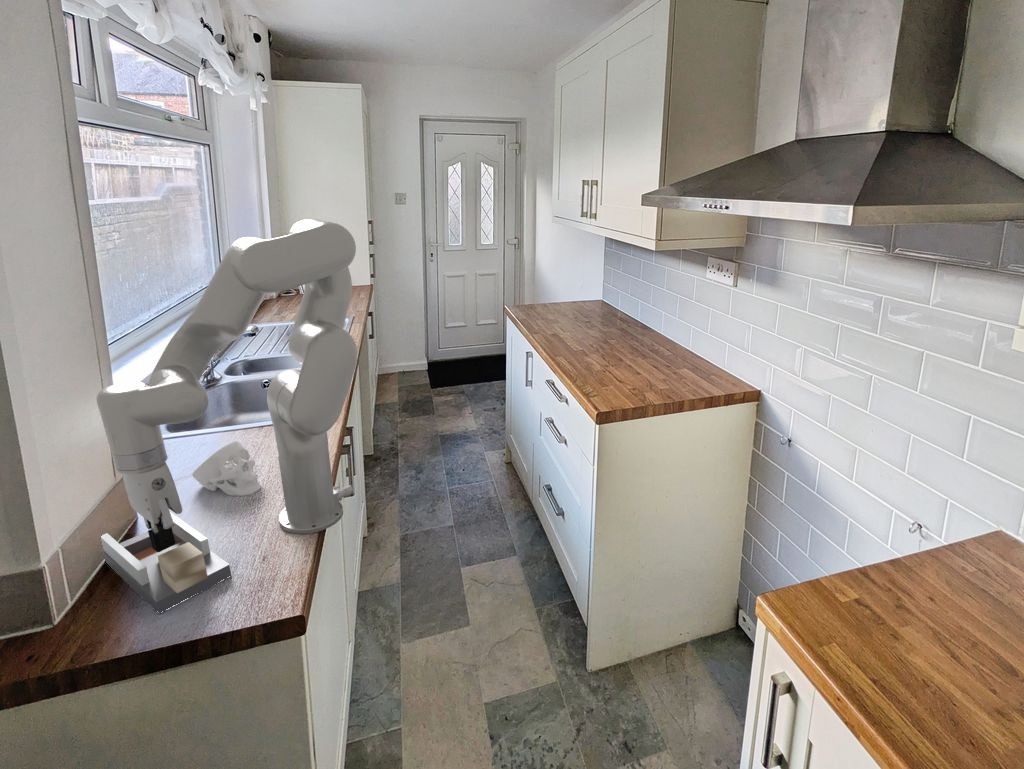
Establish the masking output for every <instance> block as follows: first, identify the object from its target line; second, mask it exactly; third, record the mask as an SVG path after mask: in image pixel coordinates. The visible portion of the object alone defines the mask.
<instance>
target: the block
mask: <svg viewBox="0 0 1024 769" xmlns="http://www.w3.org/2000/svg"><path fill="white" fill-rule="evenodd" d="M158 560H159V564H160V569H161V573H162V577H163V581H164V582H165V583H166V584H167V585H168V586H169V587H171V588H172V589H173V590H174V591H175V592H176V593H179V592H181V591H183V590H185V589H187V588H189V587H191V586H193V585H195V584H197V583H199V582H201V581H203V580H205V579H207V578H208V576H207V571H206V566H205V561H204V556H203V553H202V552H201V551H200V550H198V549H197V548H196V547H195V546H193V545H192V544H191V543H189V542H187V543H185V544H183V545H181V546H178V547H176V548H174V549H172V550H170V551H167V552H165V553H163V554H161V555H159V556H158Z"/></svg>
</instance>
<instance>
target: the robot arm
mask: <svg viewBox="0 0 1024 769" xmlns="http://www.w3.org/2000/svg"><path fill="white" fill-rule="evenodd" d="M356 249H357V246H356V241H355V239H354V236H353V234H352V233H351V232H350V230H348V229H347V228H346V227H344V226H342V224H341V225H340V224H339V223H336V222H332V221H326V220H322V219H321V220H320V219H314V218H306V219H302V220H300V221H297V222H296V223H294V224H293V225H292V227H291V228H290V229H289V233H288V235H283V236H278V237H274V238H270V239H263V238H260V237H255V236H245V237H241V238H238V239H237V240H235V241H234V242H233V243H231V245H230V246H229V248H228V249H227V250H226V252H225V254H224V256H223V257H222V260H221V261H220V262H219V264H218V267H217V268H216V270H215V272H214V274H213V275H212V278H211V279H210V282H209V283H208V285H207V287H206V289H205V290H204V292H203V294H202V295H201V298H200V299H199V301H198V302H197V304H196V306H195V308H194V309H193V311H192V312H191V314H190V315H189V316H188V317H187V318H186V319H185V320H184V323H182V325H181V326H180V327H179V328H178V329H177V331H176V332H175V333H174V334H173V336H172V337H171V338H170V340H169V342H168V343H167V345H166V346H165V348H164V350H163V352H162V353H161V355H160V358H159V359H158V361H157V363H156V365H155V366H154V369H153V370H152V372H151V374H150V378H149V381H148V384H146V383H144V382H141V381H125V382H119V383H113V384H112V385H111V384H110V385H108V386H105V387H104V388H102V389H101V390H100V391H99V392H98V394H97V396H96V405H97V409H98V410H99V414H100V415H99V416H100V418H101V422H102V424H103V425H102V426H103V428H104V432H105V435H106V438H107V443H108V445H109V450H110V453H111V456H112V457H111V458H112V460H113V463H114V468H115V471H116V472H117V473H120V474H121V475H122V480H123V484H124V489H125V491H126V496H127V498H128V501H129V504H130V506H131V508H132V510H134V511H135V512H136V513H137V514H139V515H140V516H142V517H143V520H144V524H145V526H146V529H147V532H148V533H149V537H150V540H151V544H152V548H153V549H154V550H155V551H157V552H161V551H163V550H165V549H167V548H169V547H171V546H173V545H175V539H174V535H173V531H172V527H173V526H174V522H173V519H172V517H171V514H170V512H171V511H172V512H173V513H175V515H180V514H182V512H183V506H182V502H181V500H180V497H179V493H178V490H177V487H176V483H175V481H174V478H173V475H172V473H171V470H170V468H169V466H168V464H167V460H168V453H167V449H166V446H165V441H164V437H163V434H162V428H161V426H162V425H163V426H164V425H175V424H176V425H177V424H185V423H189V422H193V421H195V420H197V419H199V418H201V416H203V415H204V414H205V412H207V409H208V407H209V404H210V398H209V394H208V391H207V390H206V388H205V387H204V385H202V383H201V382H200V380H201V377H202V376H203V373H204V372H205V370H206V369H207V367H208V365H209V363H210V361H212V359H213V358H214V356H215V355H216V354H217V353H218V352H219V351H220V349H221V348H223V347H224V346H226V345H228V344H229V343H231V342H233V341H236V340H238V339H239V338H240V337H243V335H244V334H245V333H246V331H247V329H248V328H249V326H250V324H251V322H252V321H253V318H254V316H255V315H256V313H257V311H258V309H259V307H260V305H261V304H262V302H263V300H264V298H265V296H266V295H267V294H273V293H274V294H276V293H281V292H285V291H288V290H291V289H294V288H298V287H300V286H304V289H303V294H302V299H301V302H300V305H299V309H298V311H297V314H296V317H295V320H294V323H293V327H292V330H291V333H290V335H289V339H288V351H289V353H290V355H291V356H292V358H293V359H294V360H295V361H296V362H297V363H299V364H300V365H301V367H300V369H287V370H283V371H281V372H280V373H278V374H277V375H275V376H274V378H273V379H272V380H271V381H270V383H269V385H268V388H267V395H266V401H267V402H266V403H267V407H268V411H269V414H270V420H271V422H272V423H271V424H272V428H273V432H274V436H275V443H276V449H277V456H278V466H279V471H280V479H281V485H282V491H283V499H284V505H285V507H284V509H282V510H281V512H280V514H279V516H278V524H279V526H280V527H281V529H283V530H284V531H287V532H288V533H291V534H297V535H299V534H300V535H302V534H303V535H304V534H314V533H317V532H322V531H324V530H326V529H329V528H331V527H332V526H334V525H336V524H337V523H338V522H339V521H340V520H341V519H342V517H343V515H344V506H343V504H342V503H341V502H340V501H342V500H343V498H344V497H347V496H349V495H351V494H353V493H354V487H353V486H352V485H350V484H348V485H346V486H344V487H341V486H340V485H339V484H337V485H335V486H334V485H333V477H332V469H331V466H332V465H331V458H330V451H329V439H328V438H329V437H328V432H329V430H331V428H333V426H334V425H335V424H336V422H337V421H338V420H339V418H340V415H341V413H342V410H343V408H344V405H345V402H346V400H347V397H348V393H349V390H350V387H351V384H352V381H353V377H354V374H355V371H356V367H357V363H358V348H357V344H356V340H355V339H354V338H353V336H352V335H351V334H350V333H349V332H348V331H347V330H346V329H344V326H345V322H346V319H347V316H348V312H349V307H350V304H351V299H352V293H353V292H352V291H353V282H352V276H351V271H350V269H349V266H350V265H351V264H352V263H353V261H354V259H355V256H356V252H357V250H356Z"/></svg>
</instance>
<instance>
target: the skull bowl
mask: <svg viewBox="0 0 1024 769" xmlns="http://www.w3.org/2000/svg"><path fill="white" fill-rule="evenodd" d="M255 465H256V461H255V459H254V458H253V457H252V455H251V454H250V453H249V451H248V449H246V448H245V447H244V446H243V444H242V443H241V442H240V441H239V440H238V439H235V440H234V439H233V440H232V441H231V442H228V443H227V444H225V445H223V446H221V448H219V449H218V450H216V451H215V452H214V453H213V454H211V456H209V457H208V458H207V459H206V460H205V461H204V462H202V464H200V465H199V466H198V467H197V468H196V469H195V470H193V472H192V475H191V476H192V477H193V478H194V479H195V481H197V482H198V483H199V484H200V485H201V486H202V487H204V488H205V489H206V490H209V491H211V492H215V491H217V488H219V489H220V490H221V491H223V493H224V494H226V495H227V496H230V497H231V496H234V497H245V496H251V495H254V494H255V493H256V492H258V491H259V490H260V489H261V488H262V485H261V484H260V482H259V480H258V477H259V475H258V474H257V472H256V471H254V466H255ZM230 483H234V484H235V485H232V484H230Z"/></svg>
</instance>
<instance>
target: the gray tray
mask: <svg viewBox="0 0 1024 769" xmlns="http://www.w3.org/2000/svg"><path fill="white" fill-rule="evenodd" d="M170 514H171V517H172V519H173V522H174V526H173V527H172V531H173V535H174V539H175V545H173V546H171V547H169V548H167V549H165V550H163V551H161V552H157V551H155V550H154V549H153V548H152V544H151V540H150V537H149V533H148V531H145V532H143V533H141V534H138V535H136V536H134V537H132V538H128V539H126V540H124V541H121V542H120V543H119V542H118V541H117V540H116V539H115V538H113V537H112V536H111V535H110V534H109V533H107V532H106V533H104V534H102V536H101V535H100V536H101V540H100V542H101V541H102V543H101V546H102V545H103V547H102V551H103V549H104V551H103V555H104V558H103V560H104V559H105V561H106V563H107V564H108V565H109V566H110V567H111V568H112V569H113V570H114V571H115V572H116V573H117V574H118V575H120V576H121V577H122V578H123V579H124V580H125V581H126V582H127V583H128V584H129V585H130V586H131V587H132V588H133V589H134V590H135V591H136V592H137V593H138V594H139V595H140V596H139V597H141V596H142V597H143V598H144V599H145V600H144V599H143V598H142V597H141V598H142V599H143V600H144V602H146V601H147V602H148V603H149V604H150V605H151V606H152V607H153V608H154V609H155V610H156V611H158V612H159V613H161V612H162V611H165V610H166V609H168V608H170V607H172V606H173V605H176V604H178V603H180V602H181V601H183V600H185V599H187V598H190V597H191V596H193V595H195V594H197V593H199V594H201V593H202V592H201V591H203V590H205V589H207V588H209V587H211V586H213V585H214V586H216V585H218V584H219V583H218V582H220V581H221V580H223V579H226V578H227V577H229V576H231V577H232V572H231V568H230V567H231V566H230V564H229V563H228V562H226V561H225V560H224V559H222V557H219V555H217V554H216V553H214V551H211V549H210V545H209V544H210V543H209V539H208V537H206V536H204V535H203V534H202V533H201V532H200V531H197V529H196V528H193V527H192V526H191V525H189V524H188V523H187V522H185V521H183V519H181V518H180V517H178V516H177V515H176V514H174V513H172V512H171V511H170ZM187 542H189V543H191V544H192V545H193V546H195V547H196V548H197V549H198V550H200V551H201V552H202V553H203V556H204V561H205V566H206V571H207V576H208V578H207V579H205V580H203V581H201V582H199V583H197V584H195V585H193V586H191V587H189V588H187V589H185V590H183V591H181V592H179V593H176V592H175V591H174V590H173V589H172V588H171V587H169V586H168V585H167V584H166V583H165V582H164V581H163V577H162V573H161V569H160V564H159V560H158V556H159V555H161V554H163V553H165V552H167V551H170V550H172V549H174V548H176V547H178V546H181V545H183V544H185V543H187ZM103 555H102V556H103ZM106 563H105V564H106ZM107 564H106V565H107ZM108 565H107V566H108ZM109 566H108V567H109ZM110 567H109V568H110ZM111 568H110V569H111ZM112 569H111V570H112ZM113 570H112V571H113ZM114 571H113V572H114ZM115 572H114V573H115ZM116 573H115V574H116ZM117 574H116V575H117ZM118 575H117V576H118ZM229 578H230V577H229ZM123 579H122V580H123ZM124 580H123V581H124ZM226 580H227V579H226ZM125 581H124V582H125ZM126 582H125V583H126ZM127 583H126V584H127ZM217 583H218V584H217ZM220 583H221V582H220ZM128 584H127V585H128ZM215 584H216V585H215ZM129 585H128V586H129ZM130 586H129V587H130ZM214 586H213V587H214ZM131 587H130V588H131ZM132 588H131V589H132ZM211 588H212V587H211ZM133 589H132V590H133ZM209 589H210V588H209ZM134 590H133V591H134ZM207 590H208V589H207ZM135 591H134V592H135ZM205 591H206V590H205ZM136 592H135V593H136ZM200 592H201V593H200ZM203 592H204V591H203ZM137 593H136V594H137ZM138 594H137V595H138ZM197 595H198V594H197ZM190 599H191V598H190ZM147 602H146V603H147ZM148 603H147V604H148ZM149 604H148V605H149ZM150 605H149V606H150ZM151 606H150V607H151ZM152 607H151V608H152ZM153 608H152V609H153ZM154 609H153V610H154ZM155 610H154V611H155ZM159 613H158V614H159Z"/></svg>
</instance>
